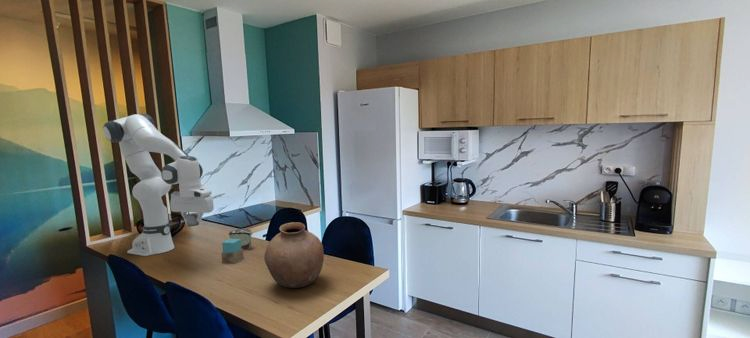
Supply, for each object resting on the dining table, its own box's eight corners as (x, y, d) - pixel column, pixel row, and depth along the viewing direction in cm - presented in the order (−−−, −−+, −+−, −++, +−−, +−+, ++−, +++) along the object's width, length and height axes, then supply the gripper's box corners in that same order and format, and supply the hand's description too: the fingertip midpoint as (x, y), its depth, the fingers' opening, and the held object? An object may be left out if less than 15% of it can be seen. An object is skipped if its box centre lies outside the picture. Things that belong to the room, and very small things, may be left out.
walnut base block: (222, 263, 171) (221, 253, 170) (230, 257, 177) (230, 248, 177) (235, 263, 169) (234, 253, 169) (243, 258, 176) (242, 248, 175)
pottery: (300, 268, 160) (297, 214, 158) (337, 281, 146) (334, 221, 143) (255, 287, 143) (250, 226, 140) (291, 303, 128) (287, 236, 125)
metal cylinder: (184, 226, 163) (183, 215, 163) (192, 223, 168) (191, 212, 167) (194, 226, 162) (193, 215, 162) (201, 223, 167) (200, 213, 166)
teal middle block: (222, 252, 170) (222, 242, 170) (230, 248, 176) (229, 238, 176) (234, 253, 169) (233, 243, 169) (241, 249, 175) (240, 239, 174)
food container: (257, 246, 193) (255, 228, 192) (252, 250, 187) (250, 231, 186) (235, 246, 195) (233, 228, 193) (229, 250, 188) (228, 231, 187)
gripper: (165, 192, 162) (168, 222, 164) (205, 193, 158) (207, 224, 160) (175, 190, 168) (178, 218, 170) (214, 191, 164) (216, 220, 166)
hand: (192, 221), depth 165 cm, fingers closed on metal cylinder, 5 cm apart
